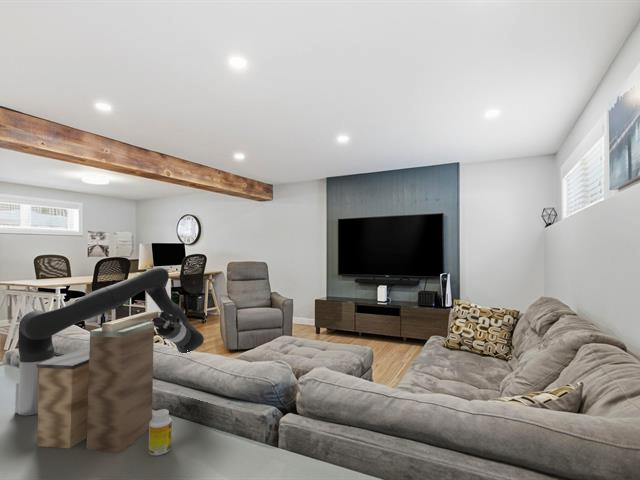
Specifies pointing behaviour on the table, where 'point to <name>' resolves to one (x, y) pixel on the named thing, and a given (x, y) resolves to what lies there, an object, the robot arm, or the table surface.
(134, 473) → the table surface
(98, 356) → the walnut stand
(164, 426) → the supplement bottle
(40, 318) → the robot arm
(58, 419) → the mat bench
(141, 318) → the slat
